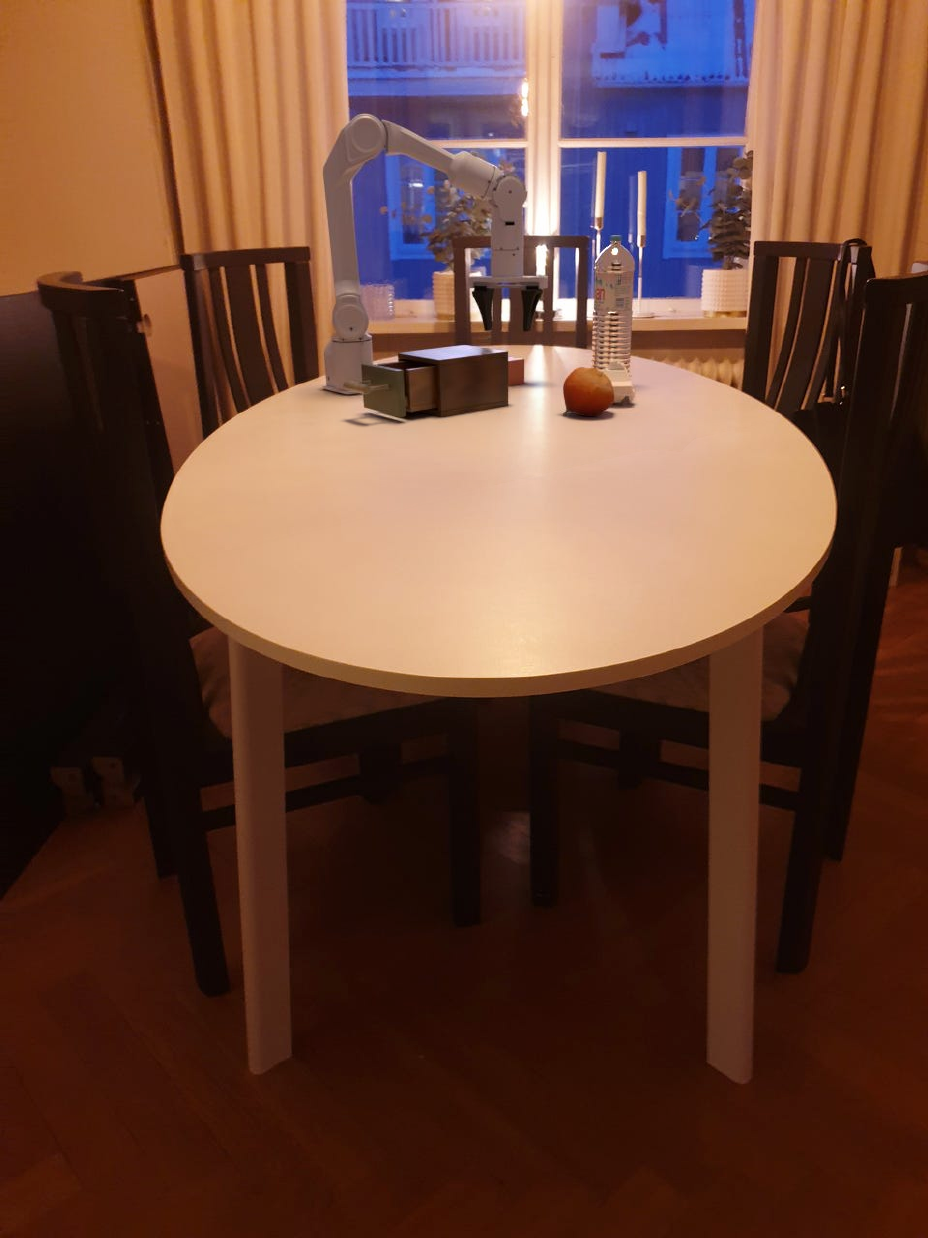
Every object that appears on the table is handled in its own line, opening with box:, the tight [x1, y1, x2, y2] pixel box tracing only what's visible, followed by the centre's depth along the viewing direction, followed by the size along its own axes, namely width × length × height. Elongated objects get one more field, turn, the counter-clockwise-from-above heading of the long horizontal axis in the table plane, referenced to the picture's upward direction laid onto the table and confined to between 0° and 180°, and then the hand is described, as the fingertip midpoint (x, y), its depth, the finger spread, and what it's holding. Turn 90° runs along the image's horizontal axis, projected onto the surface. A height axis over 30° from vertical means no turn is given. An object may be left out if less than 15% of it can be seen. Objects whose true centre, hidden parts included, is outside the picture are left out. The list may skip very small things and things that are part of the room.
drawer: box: [343, 360, 438, 418], centre depth 141 cm, size 17×10×7 cm, turn 127°
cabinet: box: [397, 344, 509, 418], centre depth 146 cm, size 14×12×9 cm
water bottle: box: [590, 234, 636, 375], centre depth 156 cm, size 7×7×25 cm
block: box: [508, 356, 525, 387], centre depth 166 cm, size 4×4×4 cm
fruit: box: [562, 366, 614, 418], centre depth 138 cm, size 8×8×8 cm
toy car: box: [604, 359, 636, 404], centre depth 148 cm, size 6×12×7 cm, turn 175°
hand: (507, 330), depth 164 cm, fingers open, 7 cm apart
